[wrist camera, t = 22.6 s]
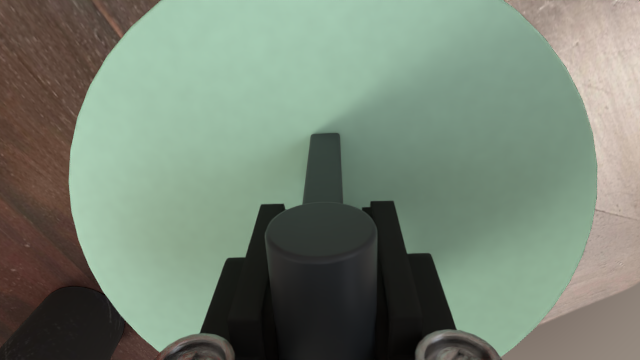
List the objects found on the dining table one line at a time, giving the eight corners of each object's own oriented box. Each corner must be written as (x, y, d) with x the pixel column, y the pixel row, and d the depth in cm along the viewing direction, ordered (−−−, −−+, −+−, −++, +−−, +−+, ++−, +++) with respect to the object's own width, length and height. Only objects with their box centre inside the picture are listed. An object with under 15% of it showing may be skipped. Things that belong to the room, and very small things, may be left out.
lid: (631, -69, 10) (1072, -114, 4) (532, 377, 16) (652, 626, 10) (22, -39, 10) (-377, -40, 5) (146, 382, 16) (41, 620, 10)
